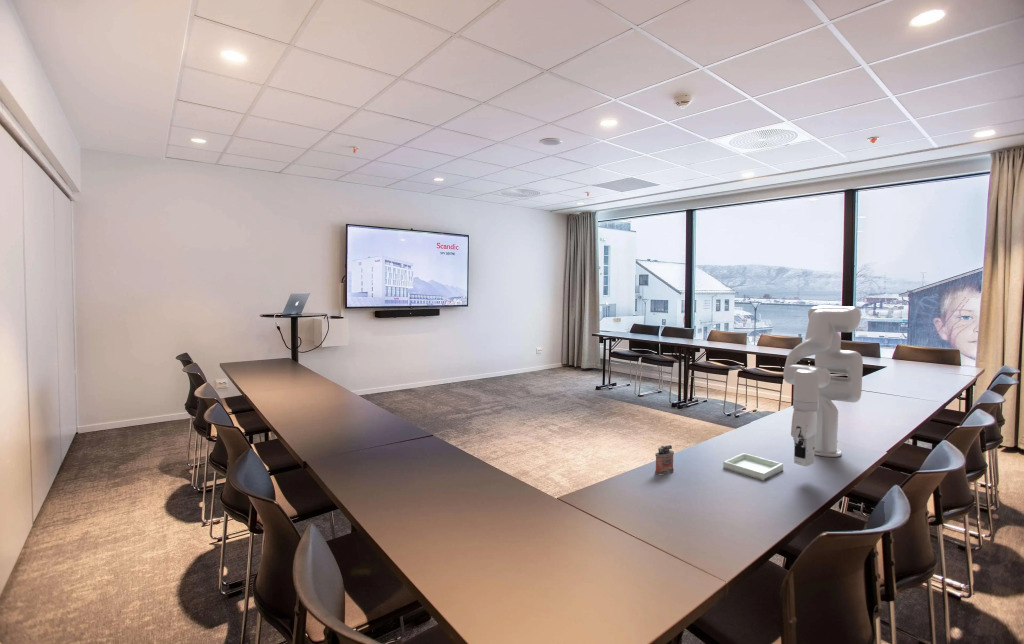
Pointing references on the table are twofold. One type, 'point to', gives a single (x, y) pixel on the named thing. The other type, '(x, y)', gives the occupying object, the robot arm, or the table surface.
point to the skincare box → (806, 452)
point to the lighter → (664, 460)
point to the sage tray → (753, 466)
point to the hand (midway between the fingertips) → (804, 454)
